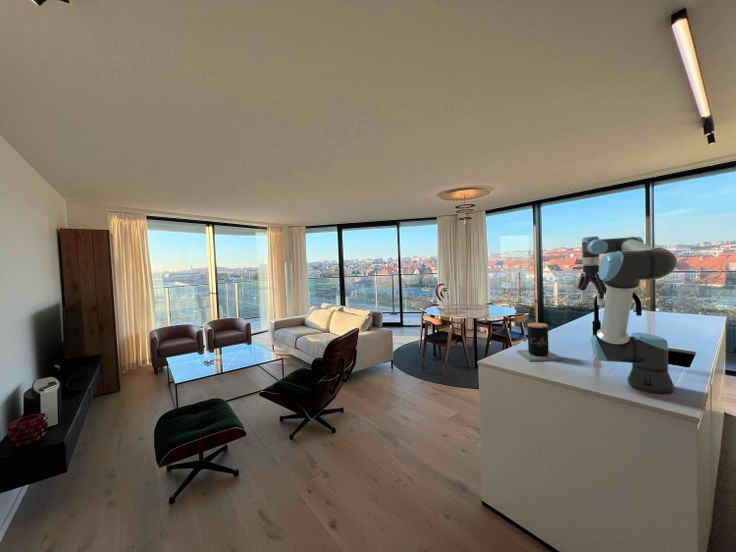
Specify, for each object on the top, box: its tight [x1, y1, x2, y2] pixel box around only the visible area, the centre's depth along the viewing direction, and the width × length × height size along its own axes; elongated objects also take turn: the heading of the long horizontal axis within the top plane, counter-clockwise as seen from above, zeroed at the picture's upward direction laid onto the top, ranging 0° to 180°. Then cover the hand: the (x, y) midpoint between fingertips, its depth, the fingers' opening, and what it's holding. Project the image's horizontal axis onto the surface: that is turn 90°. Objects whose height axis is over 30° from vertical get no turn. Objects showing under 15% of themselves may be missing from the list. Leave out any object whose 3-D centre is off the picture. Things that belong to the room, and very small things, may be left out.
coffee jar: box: [526, 322, 550, 356], centre depth 181 cm, size 11×11×18 cm
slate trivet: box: [516, 349, 563, 363], centre depth 182 cm, size 18×18×1 cm
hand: (591, 303), depth 167 cm, fingers open, 13 cm apart
